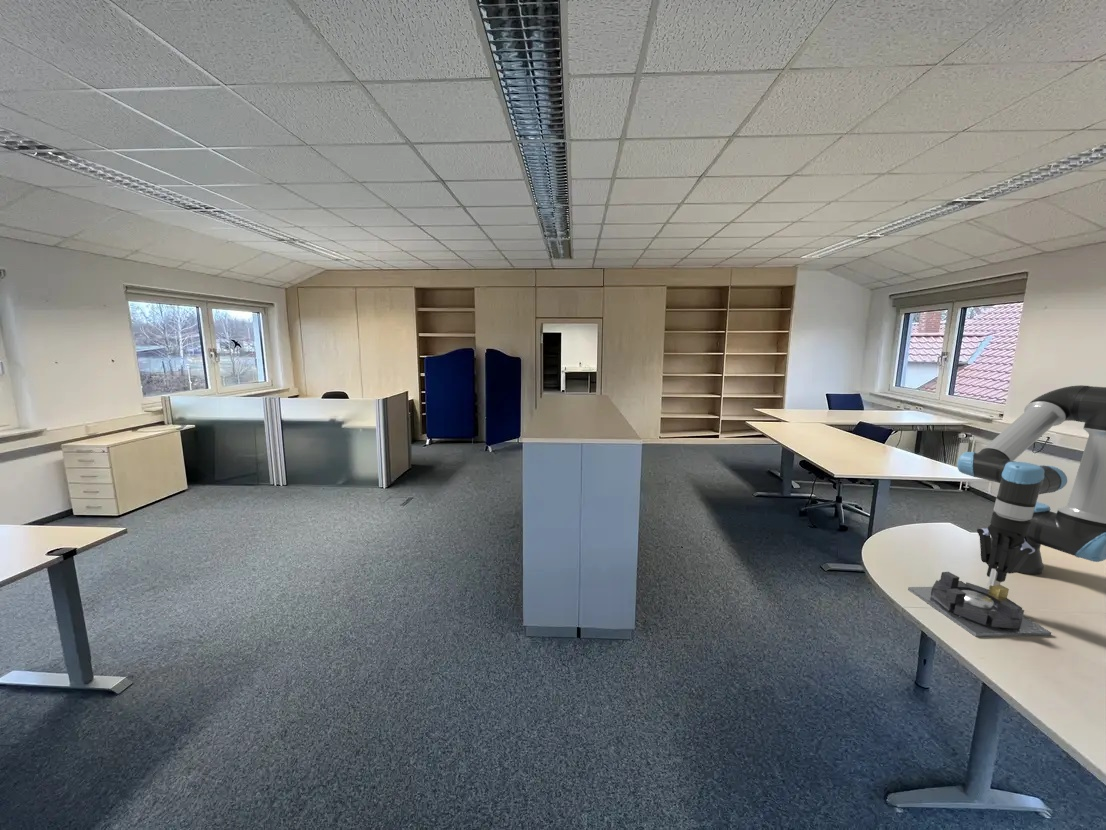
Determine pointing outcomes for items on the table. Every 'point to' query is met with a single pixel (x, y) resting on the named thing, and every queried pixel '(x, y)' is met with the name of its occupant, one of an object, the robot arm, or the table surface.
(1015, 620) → the octagonal block ring
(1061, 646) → the table surface
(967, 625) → the base plate
